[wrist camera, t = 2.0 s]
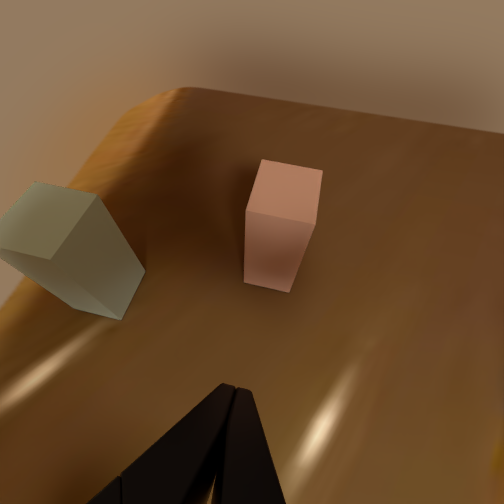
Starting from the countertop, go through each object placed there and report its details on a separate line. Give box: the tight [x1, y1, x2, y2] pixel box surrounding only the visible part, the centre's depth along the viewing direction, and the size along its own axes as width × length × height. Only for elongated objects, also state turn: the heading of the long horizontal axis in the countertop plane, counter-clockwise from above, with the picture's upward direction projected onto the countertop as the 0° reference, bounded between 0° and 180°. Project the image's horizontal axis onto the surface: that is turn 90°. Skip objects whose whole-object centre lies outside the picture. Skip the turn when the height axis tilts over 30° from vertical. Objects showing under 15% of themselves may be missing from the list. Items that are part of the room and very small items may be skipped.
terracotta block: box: [244, 159, 322, 293], centre depth 21 cm, size 4×4×10 cm
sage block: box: [0, 182, 145, 320], centre depth 19 cm, size 4×4×10 cm
